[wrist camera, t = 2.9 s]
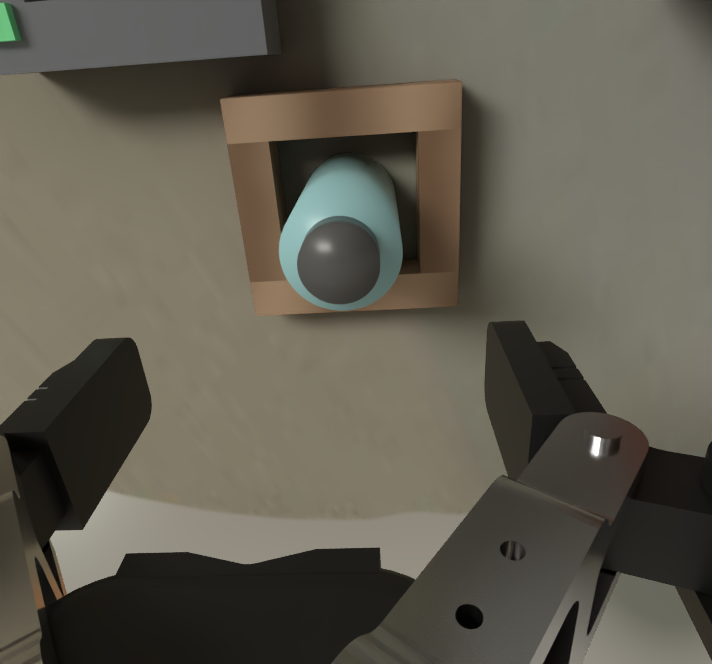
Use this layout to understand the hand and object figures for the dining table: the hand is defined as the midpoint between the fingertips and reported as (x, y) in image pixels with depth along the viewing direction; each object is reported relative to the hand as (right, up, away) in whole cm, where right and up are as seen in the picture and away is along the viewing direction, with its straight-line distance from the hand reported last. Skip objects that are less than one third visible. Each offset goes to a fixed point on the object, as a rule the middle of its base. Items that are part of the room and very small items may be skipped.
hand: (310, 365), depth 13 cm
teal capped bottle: (+1, +7, +14) cm, 16 cm away
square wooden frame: (+1, +7, +14) cm, 16 cm away
